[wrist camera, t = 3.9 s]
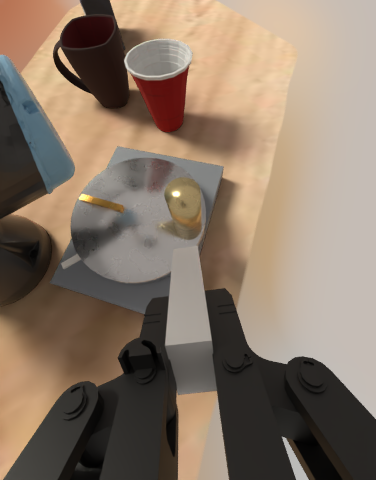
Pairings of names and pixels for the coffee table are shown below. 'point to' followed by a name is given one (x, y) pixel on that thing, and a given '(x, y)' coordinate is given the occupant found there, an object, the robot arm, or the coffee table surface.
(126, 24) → the coffee table surface
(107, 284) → the stand
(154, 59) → the plastic cup
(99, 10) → the small box
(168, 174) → the silver disc with stripe
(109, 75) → the mug
